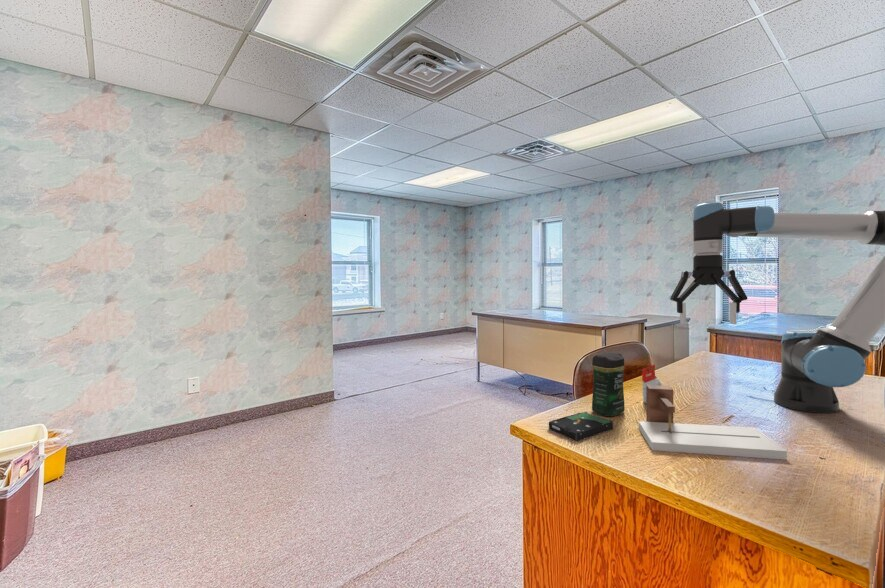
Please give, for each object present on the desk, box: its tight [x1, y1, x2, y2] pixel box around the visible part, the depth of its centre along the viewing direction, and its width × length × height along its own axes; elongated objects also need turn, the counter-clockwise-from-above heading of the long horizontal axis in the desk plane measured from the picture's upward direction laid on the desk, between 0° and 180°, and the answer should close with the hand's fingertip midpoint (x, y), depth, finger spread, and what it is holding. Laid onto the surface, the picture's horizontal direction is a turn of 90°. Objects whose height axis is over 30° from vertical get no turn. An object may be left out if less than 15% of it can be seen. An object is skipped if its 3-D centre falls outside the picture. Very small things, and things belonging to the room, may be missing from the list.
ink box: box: [641, 364, 663, 404], centre depth 134 cm, size 3×9×12 cm, turn 128°
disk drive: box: [548, 411, 614, 442], centre depth 112 cm, size 10×3×15 cm
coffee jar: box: [591, 351, 626, 417], centre depth 124 cm, size 10×8×19 cm
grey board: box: [638, 420, 788, 461], centre depth 101 cm, size 28×14×2 cm, turn 76°
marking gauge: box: [645, 385, 676, 431], centre depth 109 cm, size 6×14×11 cm, turn 166°
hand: (707, 323), depth 124 cm, fingers open, 13 cm apart
